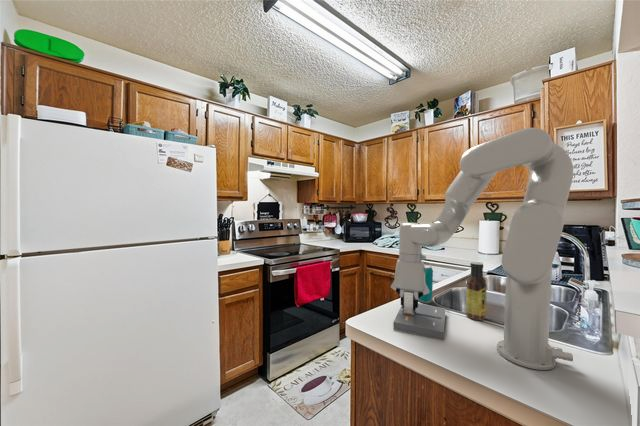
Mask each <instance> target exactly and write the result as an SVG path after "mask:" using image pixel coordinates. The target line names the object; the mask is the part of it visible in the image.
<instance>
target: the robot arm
mask: <svg viewBox="0 0 640 426" xmlns="http://www.w3.org/2000/svg"><path fill="white" fill-rule="evenodd" d="M519 166H523V167H526V168H527V169H528V172H529V179H528V181H527V184H526V189H525V194H524V196H523V197H524V198H523V201H522V204H521V206H519V208H517V209H516V210H515V212H514V213H513V216H512V217H511V221H510V225H509V229H508V232H507V237H506V241H505V245H504V248H503V251H502V255H501V267H502V270H503V272H504V273H505V275H506V277H505V292H504V293H505V295H504V320H503V321H504V322H503V325H504V326H503V340H500V341H498V342H497V343H496V351H498V353H499V354H500V356H502V357H503V358H505V359H507V360H508V361H509V362H512V363H514V364H516V365H519V366H522V367H525V368H529V369H532V370H540V371H549V370H552V369H554V368H555V367H556V364H557V363H556V360H557V359H559V360H560V359H561V360H563V361H568V362H573V361H574V356H573V354H572V353H571V352H566V351H563V348H561V347H556V346H555V347H554V346H552V345H550V343H549V338H550V337H549V336H550V335H549V333H550V315H551V314H550V309H551V308H550V307H551V294H552V293H551V292H552V290H551V289H552V274H553V273H552V272H553V262H554V259H555V256H556V253H557V250H558V247H559V244H560V240H561V236H562V233H563V229H564V226H565V218H564V217H565V216H564V215H565V211H566V210H565V209H566V208H567V207H566V206H567V202H568V200H569V195H570V190H571V187H572V184H573V183H572V182H573V178H574V165H573V161H572V159H571V157H570V156H569V154H568V153H567V151H566V150H565V149H564V148H563V147H561V146H560V145H559V144H557V143H556V142H554V141H553V139H552V137H551V135H550V133H548V132H547V131H546V130H544V129H542V128H538V127H526V128H523V129H519V130H516V131H513V132H510V133H508V134H505V135H502V136H499V137H497V138H494V139H490V140H489V141H485V142H483V143H480V144H477V145H475V146H472V147H471V148H469V149H467V150H465V152H464V153H463V154H462V155H461V157H460V160H459V169H460V171H459V173H458V174H457V175H456V177H455V178H454V180H453V181H452V182H451V184H450V185H449V186H448V188H447V189H446V191H445V193H444V200H445V201H444V206H443V208H442V210H441V212H440V213H439V215H438V216H437V217H436V219H435V220H434V222H431V223H426V224H421V223H419V222H401V223H400V224H399V237H398V239H399V241H398V243H399V246H398V250H399V251H398V253H399V254H398V259H397V260H396V264H395V270H394V271H395V272H394V280H393V282H392V283H391V285H390V288H391V289H392V290H394V291H395V292H396V293H397V294H398V295H399V297H400V306H402V309H404V291H405V289H406V290H413V291H414V295H415V296H414V299H413V310H414V311H415V310H416V308H418V304H419V298H420V297H421V296H423V295H425V294H428V293H429V289H428V287H427V285H426V283H425V266H424V265H425V262H424V260H426V259H427V255H424V254H423V253H422V250H423V249H422V246H423V247H428V248H433V247H436V246H439V245H441V244H442V245H443V244H444V243H447V242H448V241H449V240H450V239H451V237H452V236H453V235H454V234H455V232H456V231H457V230H458V229H459V227H460V225H462V224H463V222H464V220H465V218H466V217H467V214H468V213H469V212H470V210H471V208H472V206H473V205H474V203H475V202H476V201H477V200H478V198H479V197H480V196H481V195H482V194H483V192H484V190H485V189H486V187H487V186H488V185H489V184H490V182H491V181H492V180H493V179H494V177H495V176H496V174H497V173H498V172H502V171H505V170H509V169H513V168H515V167H519ZM419 291H420V292H419Z"/></svg>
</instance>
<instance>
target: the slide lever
mask: <svg viewBox="0 0 640 426" xmlns="http://www.w3.org/2000/svg"><path fill="white" fill-rule="evenodd" d="M414 296H415V295H414V291H413V290H406V289H405V291H404V309H403V311H402V313H405V314H410V315H414V314H415V311H416V310H415V311H414V310H413V299H414Z"/></svg>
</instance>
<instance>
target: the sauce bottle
mask: <svg viewBox="0 0 640 426" xmlns="http://www.w3.org/2000/svg"><path fill="white" fill-rule="evenodd" d="M483 273H484V263H482V262H475V261H471V262H470V275H469V277H468V278H467V280H466V292H465V295H466V298H465V299H466V301H465V311H466V317H468V318H470V320H471V319H472V320H476V321H484V320H485V319H486V315H487V313H486V312H487V284H486V280H485V278H484V274H483Z"/></svg>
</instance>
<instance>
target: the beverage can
mask: <svg viewBox="0 0 640 426" xmlns="http://www.w3.org/2000/svg"><path fill="white" fill-rule="evenodd" d="M424 266H425V283H426V285H427V287H428V289H429V293H428V294H425V295H423V296H421V297H420V298H419V299H418V302H420V303H423V304H431V302H432V300H433V283H434V282H433V281H434V270H433V266H431V265H429V264H424ZM419 292H420V291H419Z"/></svg>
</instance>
